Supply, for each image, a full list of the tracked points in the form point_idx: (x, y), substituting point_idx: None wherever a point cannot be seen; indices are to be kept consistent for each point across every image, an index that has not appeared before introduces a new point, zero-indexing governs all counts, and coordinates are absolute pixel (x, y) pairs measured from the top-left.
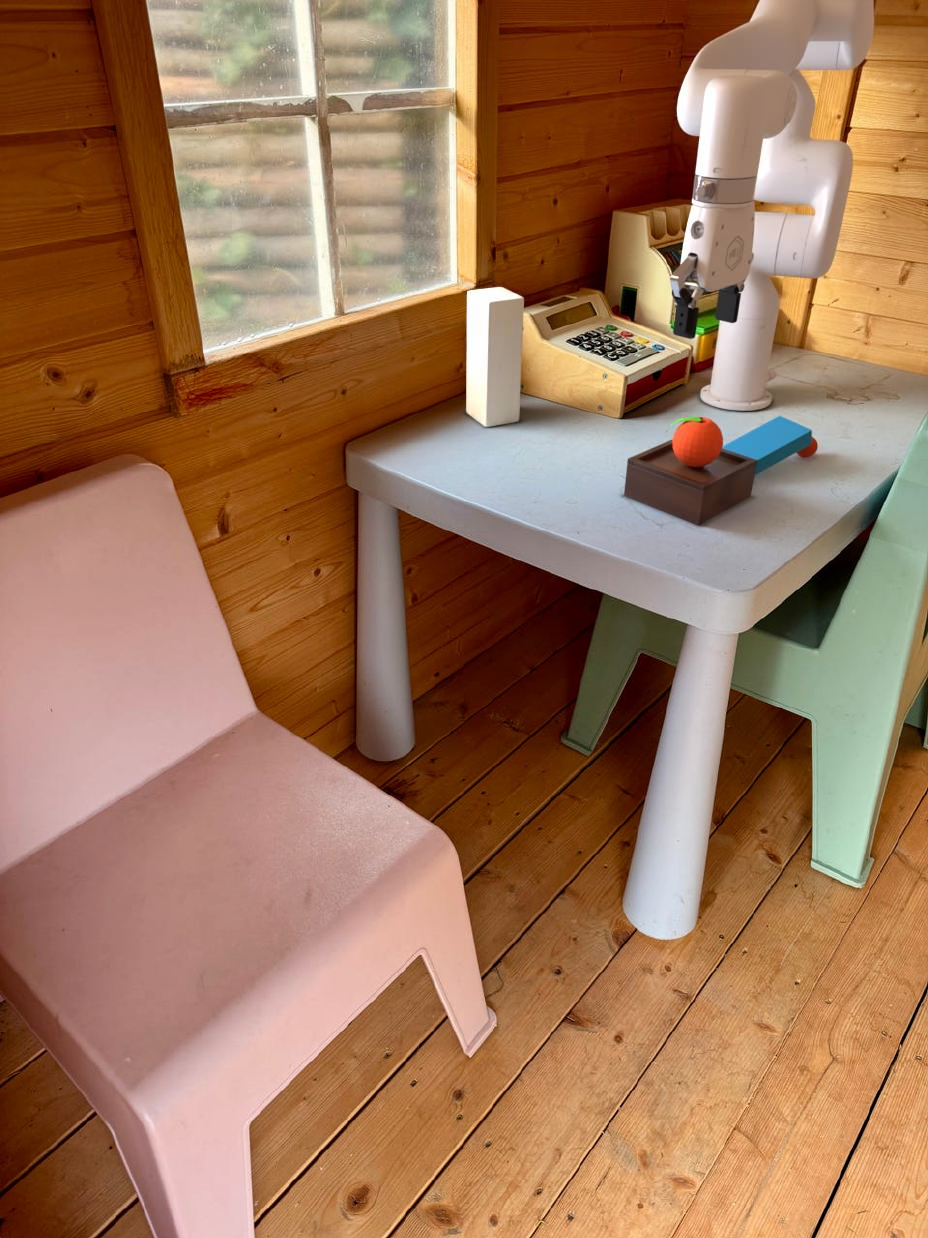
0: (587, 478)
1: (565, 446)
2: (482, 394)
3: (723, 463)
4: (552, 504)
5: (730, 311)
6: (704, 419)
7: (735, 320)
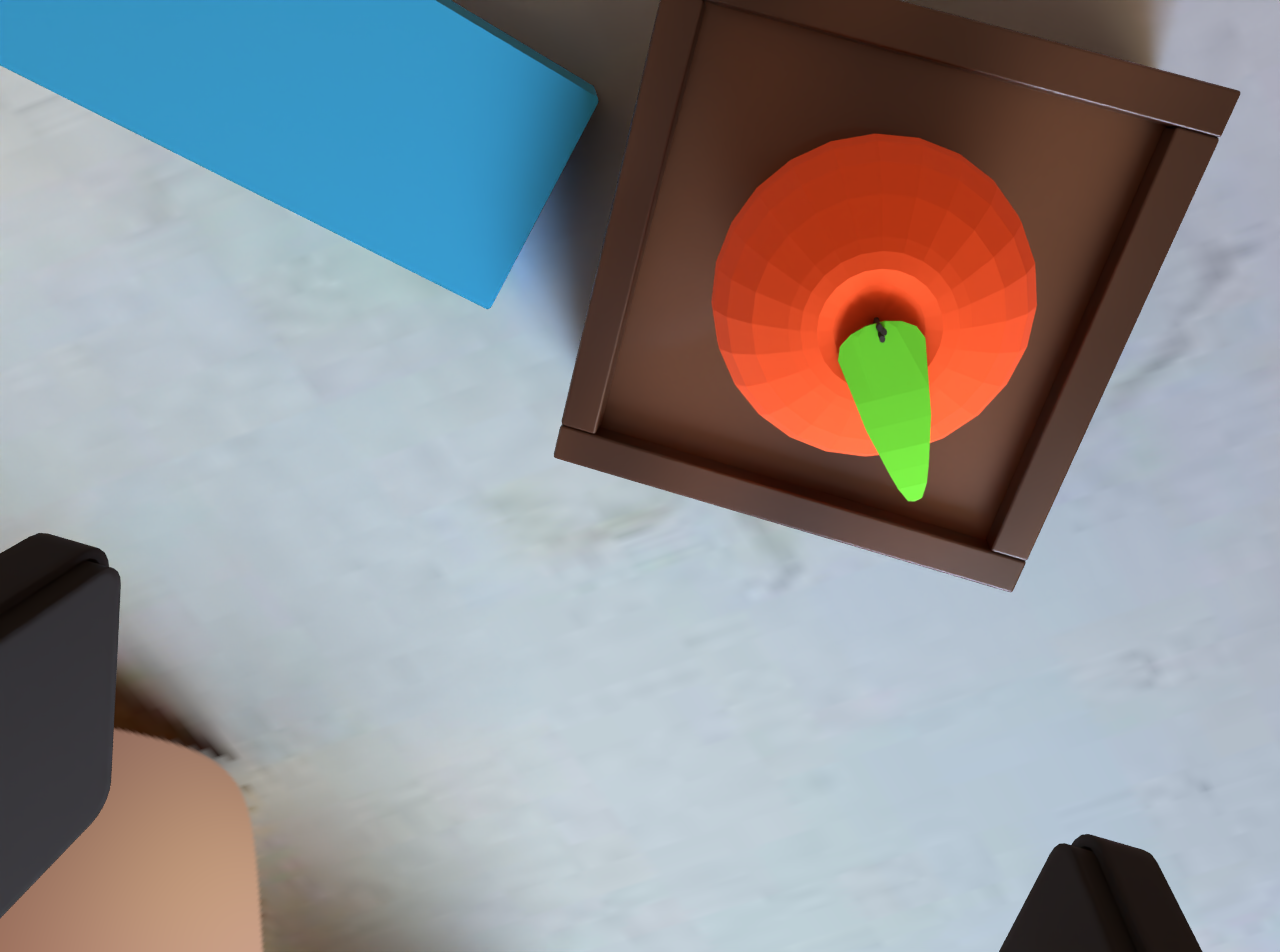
0: (873, 693)
1: (617, 858)
2: None
3: (754, 136)
4: (1194, 726)
5: (9, 702)
6: (837, 315)
7: (70, 549)
